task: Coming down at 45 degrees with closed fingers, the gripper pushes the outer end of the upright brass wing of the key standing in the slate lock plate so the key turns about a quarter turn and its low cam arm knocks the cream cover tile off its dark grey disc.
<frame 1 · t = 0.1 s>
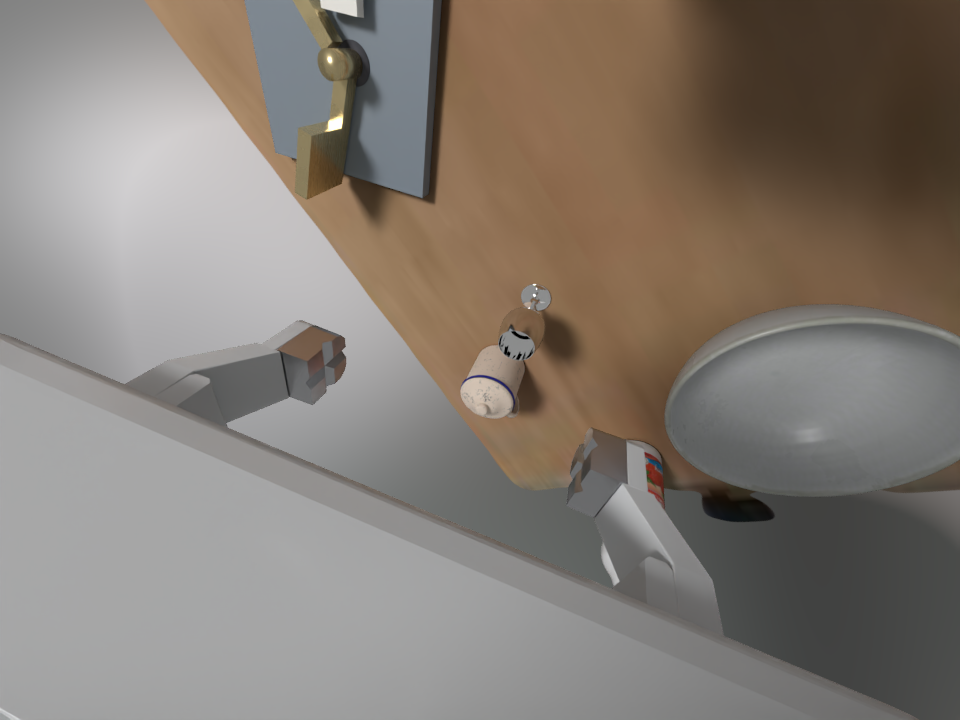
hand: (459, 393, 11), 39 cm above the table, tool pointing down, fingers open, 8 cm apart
key: (321, 104, 39), point 6 cm above the table, hinge at 0.0°
fruit juice: (633, 453, 67), on the table
wineglass: (536, 296, 53), on the table
lock plate: (349, 80, 42), on the table
teacup with lid: (506, 368, 64), on the table
decorative bowl: (773, 354, 47), on the table
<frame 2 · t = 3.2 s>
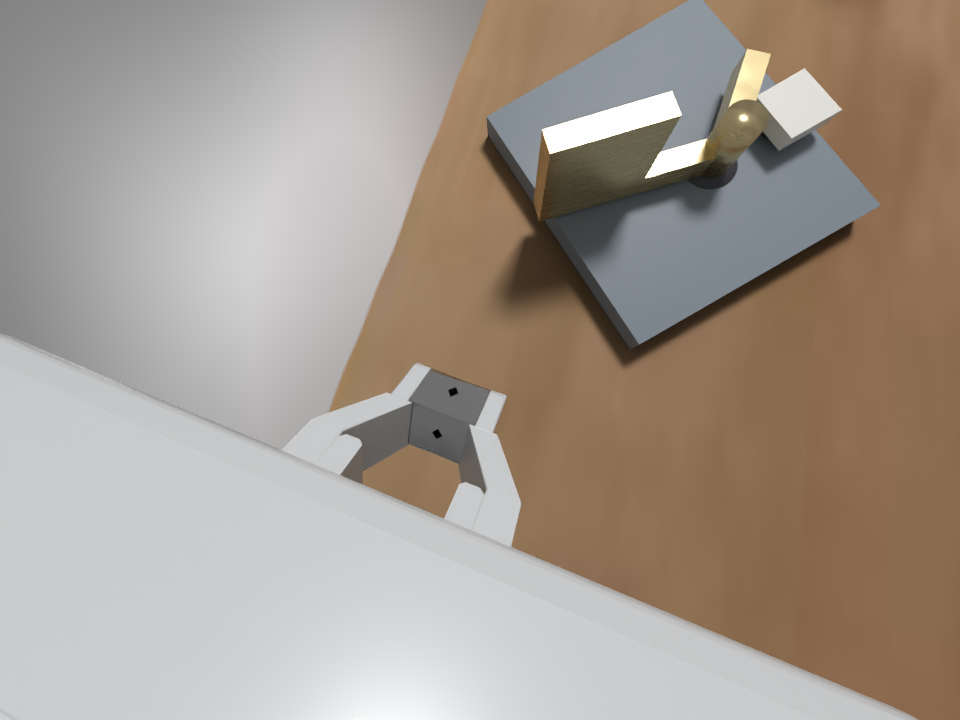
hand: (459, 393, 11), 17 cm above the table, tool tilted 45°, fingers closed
cover: (785, 116, 26), point 3 cm above the table, touching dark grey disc
key: (675, 131, 23), point 6 cm above the table, hinge at 0.0°
lock plate: (659, 175, 29), on the table
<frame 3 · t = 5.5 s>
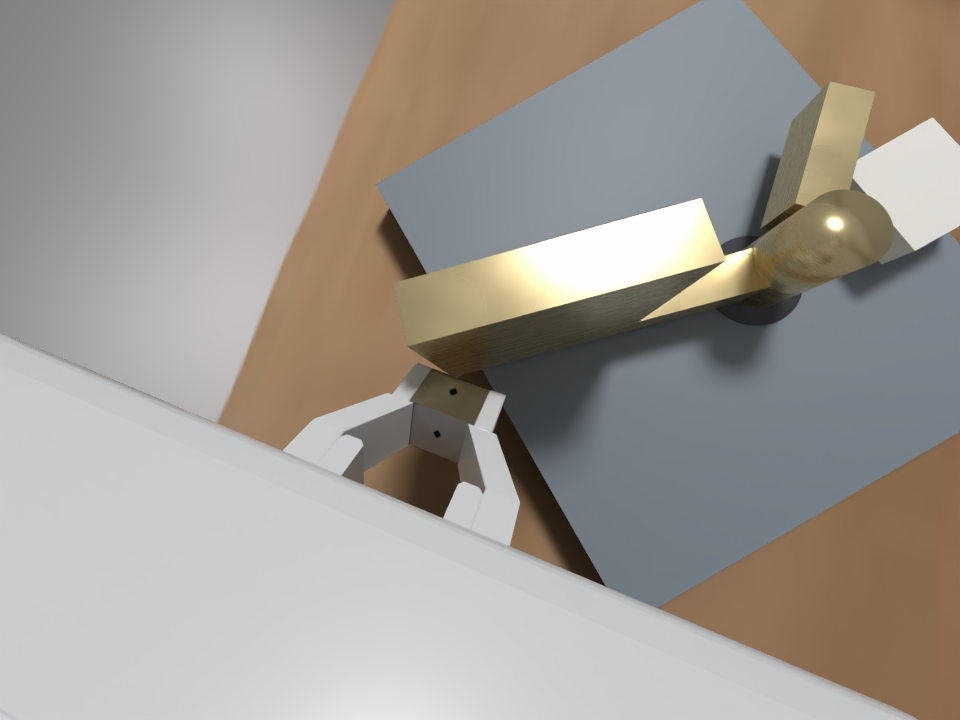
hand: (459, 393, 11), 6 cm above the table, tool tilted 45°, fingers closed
cover: (890, 201, 15), point 3 cm above the table, touching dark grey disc
key: (699, 247, 12), point 6 cm above the table, hinge at 0.1°, touching gripper
lock plate: (664, 282, 18), on the table
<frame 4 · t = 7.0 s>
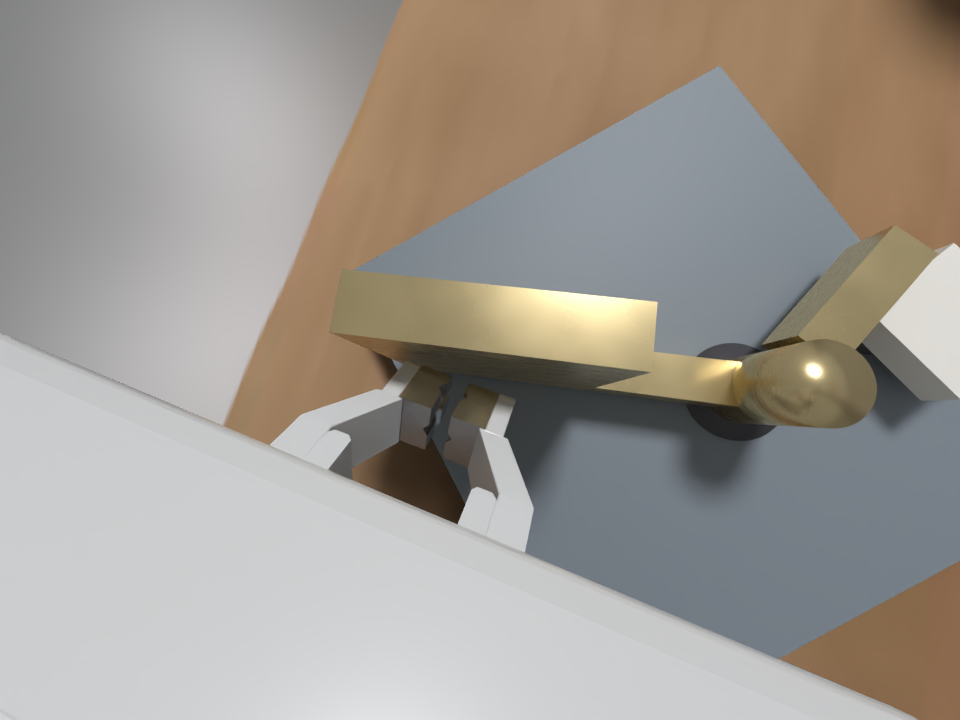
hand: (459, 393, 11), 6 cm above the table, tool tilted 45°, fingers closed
cover: (918, 327, 14), point 3 cm above the table, touching key, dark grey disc
key: (673, 342, 11), point 6 cm above the table, hinge at 21.6°, touching cover, gripper
lock plate: (646, 376, 17), on the table
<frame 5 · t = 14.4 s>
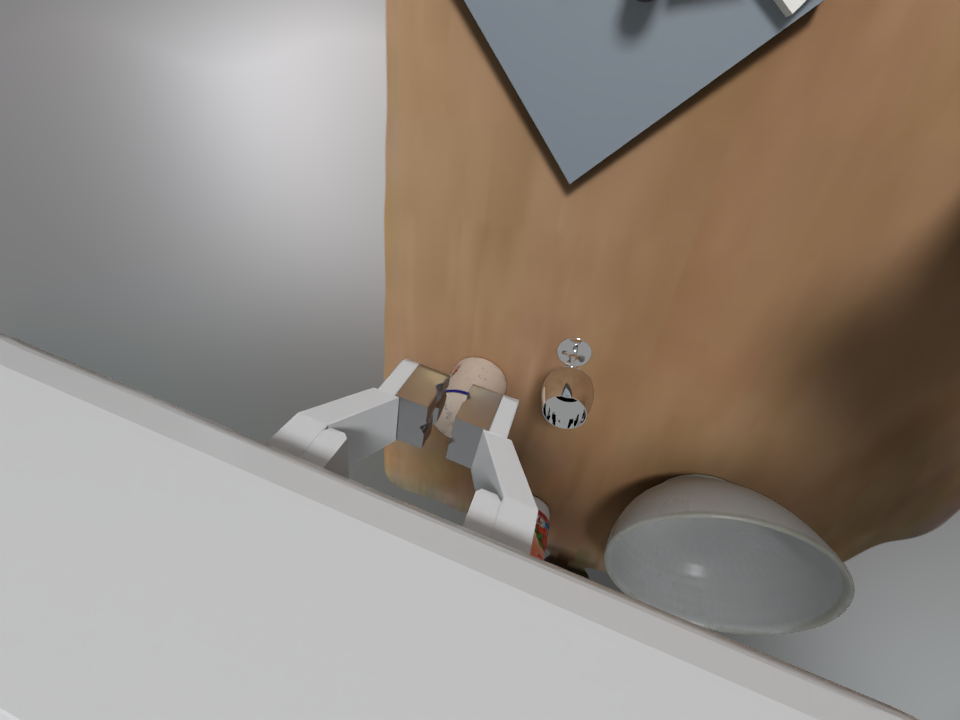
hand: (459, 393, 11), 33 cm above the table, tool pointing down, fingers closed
fruit juice: (526, 506, 69), on the table
wineglass: (574, 351, 47), on the table
teacup with lid: (479, 386, 56), on the table
decorative bowl: (697, 499, 55), on the table
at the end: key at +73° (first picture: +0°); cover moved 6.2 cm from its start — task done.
